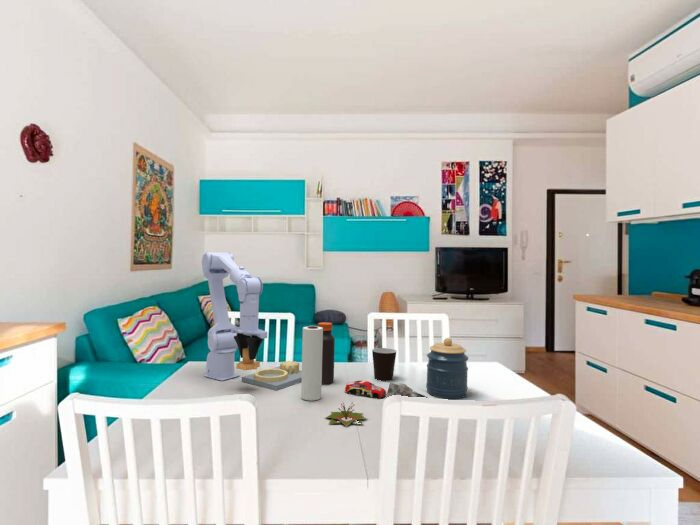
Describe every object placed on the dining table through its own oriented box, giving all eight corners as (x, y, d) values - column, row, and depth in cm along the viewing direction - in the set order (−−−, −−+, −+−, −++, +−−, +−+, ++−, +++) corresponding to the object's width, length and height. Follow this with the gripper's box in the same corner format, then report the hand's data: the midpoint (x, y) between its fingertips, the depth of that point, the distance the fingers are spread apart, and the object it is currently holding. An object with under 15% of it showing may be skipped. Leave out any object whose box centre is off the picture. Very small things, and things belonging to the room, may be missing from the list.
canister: (440, 384, 146) (442, 333, 145) (475, 393, 136) (476, 338, 136) (417, 392, 136) (419, 337, 136) (453, 402, 127) (454, 343, 127)
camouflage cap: (425, 412, 126) (422, 419, 116) (389, 399, 129) (383, 405, 119) (431, 389, 126) (429, 394, 117) (394, 378, 129) (389, 382, 120)
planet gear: (232, 368, 134) (232, 349, 134) (248, 363, 140) (248, 345, 140) (247, 371, 130) (248, 351, 130) (263, 367, 136) (263, 348, 136)
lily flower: (325, 411, 118) (326, 395, 118) (368, 413, 118) (369, 397, 118) (321, 429, 106) (322, 410, 106) (369, 430, 106) (370, 412, 106)
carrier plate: (241, 381, 143) (241, 368, 143) (279, 370, 159) (280, 358, 159) (276, 390, 134) (276, 376, 134) (313, 377, 150) (313, 364, 150)
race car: (388, 396, 133) (389, 383, 133) (382, 401, 128) (382, 387, 128) (350, 389, 139) (350, 377, 138) (343, 394, 134) (343, 381, 134)
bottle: (321, 386, 140) (323, 325, 140) (309, 381, 145) (311, 322, 145) (337, 382, 145) (339, 323, 145) (325, 378, 150) (326, 321, 150)
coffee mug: (388, 383, 145) (389, 354, 145) (366, 379, 150) (367, 350, 149) (403, 376, 155) (404, 348, 155) (382, 372, 159) (383, 345, 159)
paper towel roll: (316, 402, 124) (317, 329, 124) (297, 399, 126) (299, 327, 126) (325, 395, 131) (327, 325, 131) (308, 392, 133) (309, 324, 133)
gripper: (223, 314, 136) (222, 357, 136) (256, 319, 127) (254, 364, 128) (240, 312, 141) (239, 353, 142) (272, 316, 133) (271, 360, 133)
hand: (248, 358), depth 135 cm, fingers closed on planet gear, 3 cm apart
